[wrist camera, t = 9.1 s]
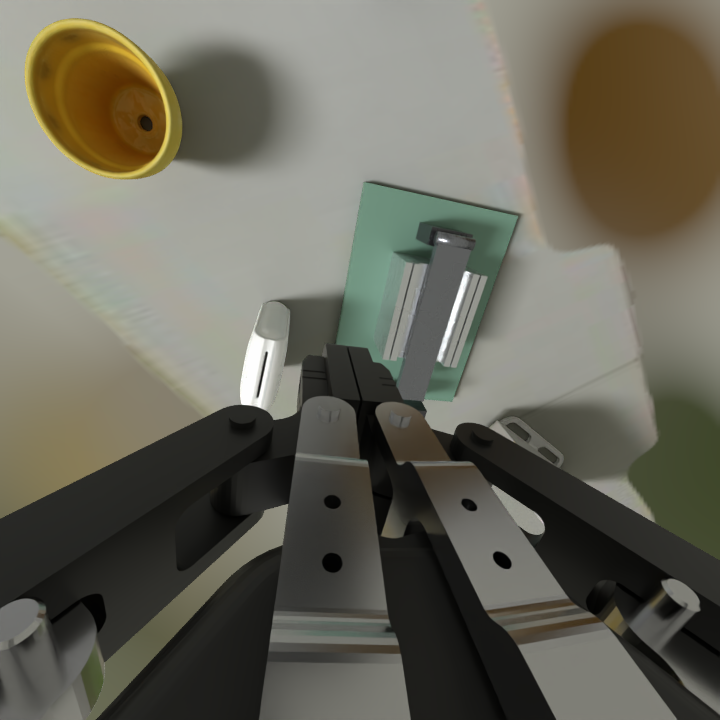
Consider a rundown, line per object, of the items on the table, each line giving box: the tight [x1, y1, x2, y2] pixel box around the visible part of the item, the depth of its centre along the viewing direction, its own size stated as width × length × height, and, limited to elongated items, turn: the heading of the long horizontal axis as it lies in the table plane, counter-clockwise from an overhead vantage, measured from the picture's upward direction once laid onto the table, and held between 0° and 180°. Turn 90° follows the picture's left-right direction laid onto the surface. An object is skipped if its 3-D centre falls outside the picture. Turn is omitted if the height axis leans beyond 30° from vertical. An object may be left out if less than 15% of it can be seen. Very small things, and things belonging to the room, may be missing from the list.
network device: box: [489, 416, 564, 524], centre depth 56 cm, size 26×9×20 cm, turn 49°
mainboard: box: [335, 182, 518, 402], centre depth 49 cm, size 28×20×1 cm
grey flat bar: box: [396, 231, 476, 401], centre depth 43 cm, size 21×4×1 cm, turn 169°
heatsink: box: [373, 222, 488, 418], centre depth 46 cm, size 24×10×7 cm, turn 169°
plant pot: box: [25, 18, 182, 179], centre depth 32 cm, size 10×10×10 cm
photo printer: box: [240, 301, 290, 411], centre depth 43 cm, size 10×4×12 cm, turn 163°
